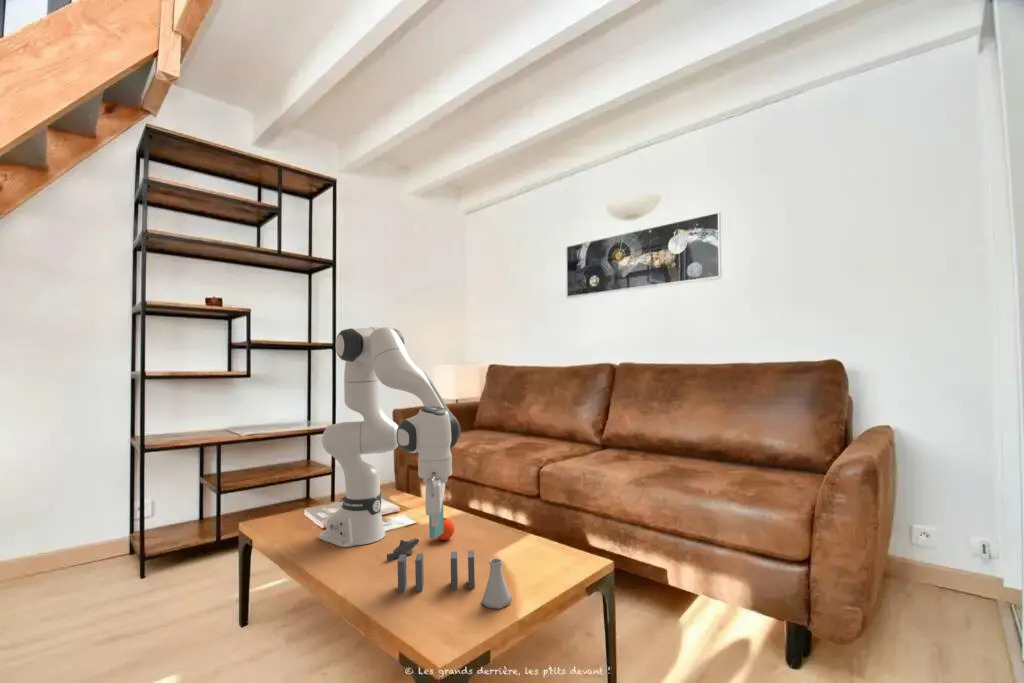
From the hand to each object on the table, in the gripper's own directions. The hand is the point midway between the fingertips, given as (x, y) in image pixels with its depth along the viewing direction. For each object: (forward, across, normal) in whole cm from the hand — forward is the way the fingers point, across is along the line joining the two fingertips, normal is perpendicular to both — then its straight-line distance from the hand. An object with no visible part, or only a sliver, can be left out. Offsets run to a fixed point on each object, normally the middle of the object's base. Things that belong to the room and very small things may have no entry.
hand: (436, 521), depth 127 cm
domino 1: (+17, 0, +9) cm, 19 cm away
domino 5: (+17, 0, -9) cm, 19 cm away
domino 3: (+4, 0, 0) cm, 4 cm away
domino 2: (+17, 0, +4) cm, 17 cm away
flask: (+17, -10, -15) cm, 25 cm away
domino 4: (+17, 0, -4) cm, 17 cm away
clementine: (+17, +34, 0) cm, 38 cm away
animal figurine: (+17, +22, +12) cm, 30 cm away
